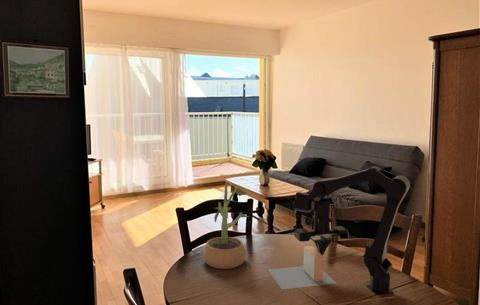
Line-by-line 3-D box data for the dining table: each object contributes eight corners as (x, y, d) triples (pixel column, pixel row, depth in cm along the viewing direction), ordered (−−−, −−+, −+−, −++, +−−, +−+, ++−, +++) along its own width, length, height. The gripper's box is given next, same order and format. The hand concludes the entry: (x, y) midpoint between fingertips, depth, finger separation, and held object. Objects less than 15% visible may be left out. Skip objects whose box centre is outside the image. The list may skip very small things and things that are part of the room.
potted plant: (248, 271, 145) (249, 192, 141) (200, 270, 146) (199, 191, 142) (249, 248, 168) (250, 179, 164) (207, 247, 168) (207, 179, 164)
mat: (336, 284, 135) (336, 283, 135) (281, 290, 131) (281, 289, 131) (317, 265, 151) (317, 264, 151) (267, 270, 146) (267, 269, 146)
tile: (322, 280, 137) (323, 256, 136) (313, 281, 137) (314, 256, 135) (310, 268, 147) (311, 245, 146) (302, 269, 146) (303, 246, 145)
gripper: (335, 207, 150) (334, 246, 152) (289, 209, 145) (288, 250, 147) (350, 215, 139) (348, 257, 141) (300, 218, 135) (299, 262, 137)
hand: (320, 256), depth 142 cm, fingers closed
